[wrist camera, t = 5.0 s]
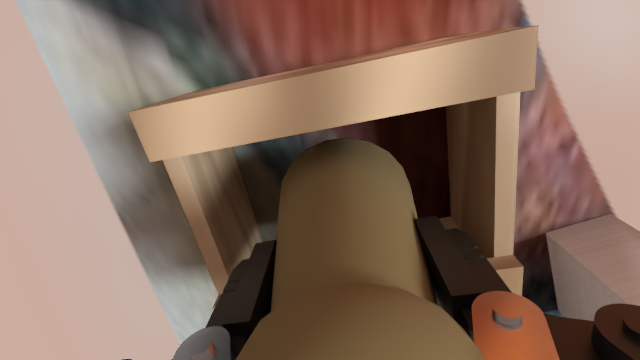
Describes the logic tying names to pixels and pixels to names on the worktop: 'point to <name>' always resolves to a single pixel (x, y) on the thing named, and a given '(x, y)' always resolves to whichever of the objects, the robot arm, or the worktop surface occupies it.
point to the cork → (352, 266)
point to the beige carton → (594, 266)
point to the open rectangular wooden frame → (348, 108)
